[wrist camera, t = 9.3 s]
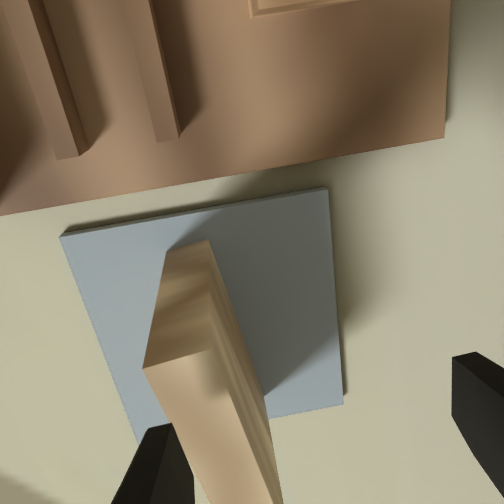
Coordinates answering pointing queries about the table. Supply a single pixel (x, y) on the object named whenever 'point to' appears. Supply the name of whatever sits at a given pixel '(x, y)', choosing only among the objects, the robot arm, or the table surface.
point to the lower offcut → (287, 6)
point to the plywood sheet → (210, 381)
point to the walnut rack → (206, 90)
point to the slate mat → (238, 288)
